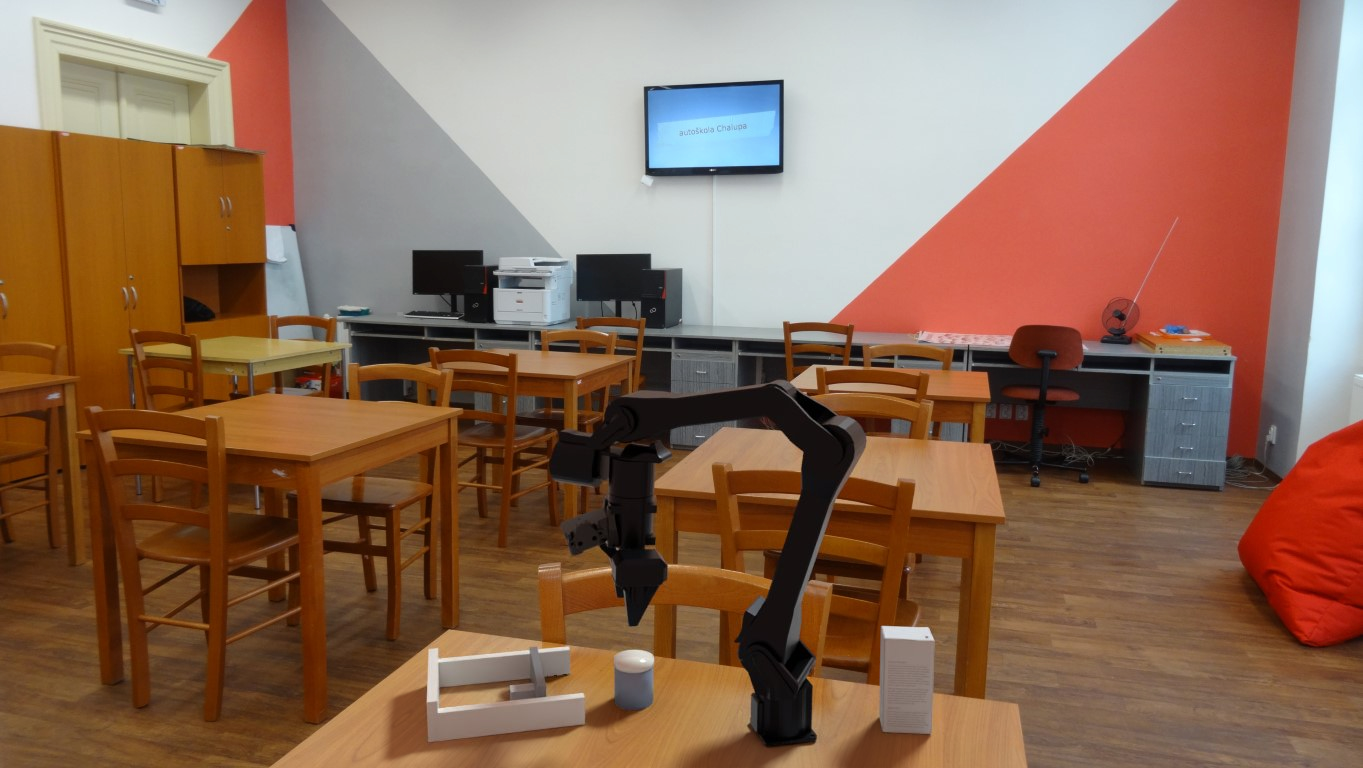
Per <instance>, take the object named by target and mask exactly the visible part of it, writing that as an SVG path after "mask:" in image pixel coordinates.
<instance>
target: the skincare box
mask: <svg viewBox="0 0 1363 768" xmlns="http://www.w3.org/2000/svg"><path fill="white" fill-rule="evenodd" d="M935 645H936V641H935V639H934V637H933V634H932V632H931V630H930V628H929V627H927V626H926V627H925V626H924V627H921V626H891V625H881V626H880V654H879V655H880V656H879V661H880V663H879V696H878V697H879V702H878V703H879V704H878V705H879V706H878V707H879V708H878V716H879V717H878V718H879V721H880V726H881V731H882V732H883V733H897V734H898V733H899V734H917V735H918V734H922V735H931V734H932V732H933V709H934V708H933V706H934V705H933V703H934V682H935V681H934V678H935V677H934V676H935V675H934V673H935V647H936V646H935Z"/></svg>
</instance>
